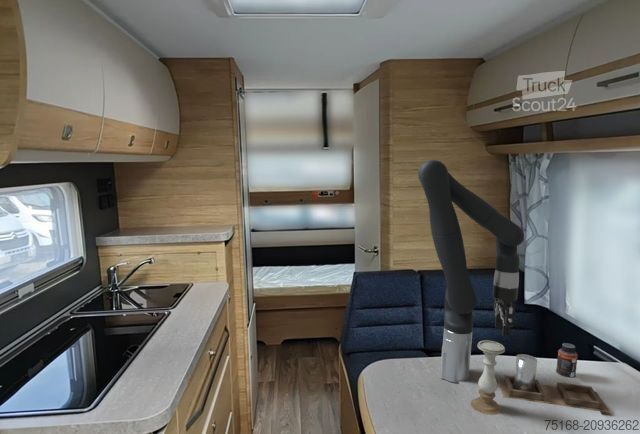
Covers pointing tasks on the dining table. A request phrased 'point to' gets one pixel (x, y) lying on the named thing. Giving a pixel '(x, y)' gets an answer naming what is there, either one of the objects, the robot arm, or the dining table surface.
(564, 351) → the supplement bottle
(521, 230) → the robot arm
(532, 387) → the can
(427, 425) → the dining table surface
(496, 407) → the candle holder
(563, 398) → the wooden divided tray
